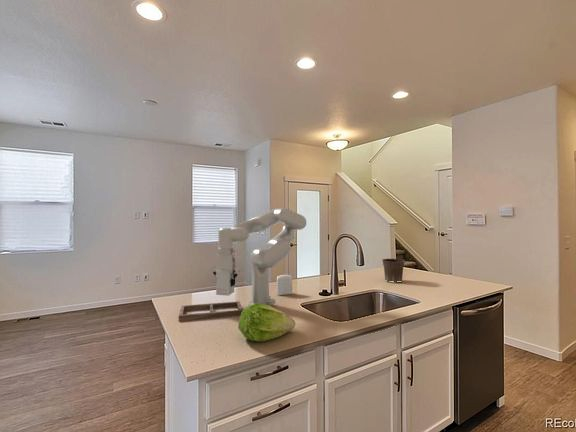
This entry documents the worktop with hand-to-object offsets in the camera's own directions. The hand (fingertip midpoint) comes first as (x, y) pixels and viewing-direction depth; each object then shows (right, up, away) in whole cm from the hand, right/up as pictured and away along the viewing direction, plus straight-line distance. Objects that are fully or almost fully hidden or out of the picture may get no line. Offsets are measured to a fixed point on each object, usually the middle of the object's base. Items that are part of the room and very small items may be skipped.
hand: (225, 285), depth 154 cm
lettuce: (+25, -15, -31) cm, 42 cm away
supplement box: (0, -5, 0) cm, 5 cm away
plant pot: (+113, -14, +70) cm, 133 cm away
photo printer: (+30, -14, +34) cm, 47 cm away
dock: (-7, -14, -2) cm, 16 cm away
